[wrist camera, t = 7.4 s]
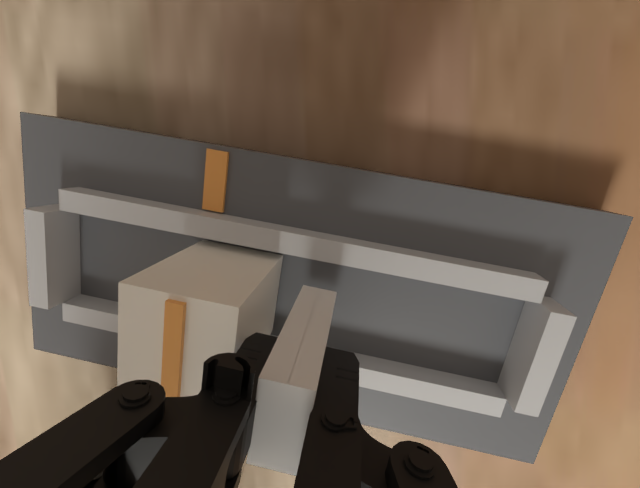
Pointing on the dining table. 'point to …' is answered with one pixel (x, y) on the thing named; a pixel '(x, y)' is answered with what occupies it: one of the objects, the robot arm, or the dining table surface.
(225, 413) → the robot arm
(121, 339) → the block
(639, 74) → the dining table surface
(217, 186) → the marker
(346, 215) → the slider track
